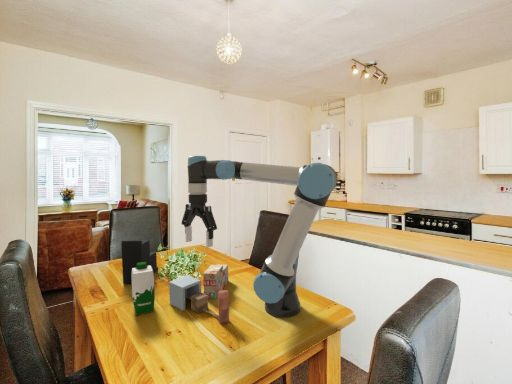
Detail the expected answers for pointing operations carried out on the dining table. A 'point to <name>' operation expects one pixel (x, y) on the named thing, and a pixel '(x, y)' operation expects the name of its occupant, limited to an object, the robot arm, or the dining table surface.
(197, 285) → the box
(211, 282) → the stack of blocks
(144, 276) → the milk carton
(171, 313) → the dining table surface
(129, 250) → the bookend
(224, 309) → the tethered block
